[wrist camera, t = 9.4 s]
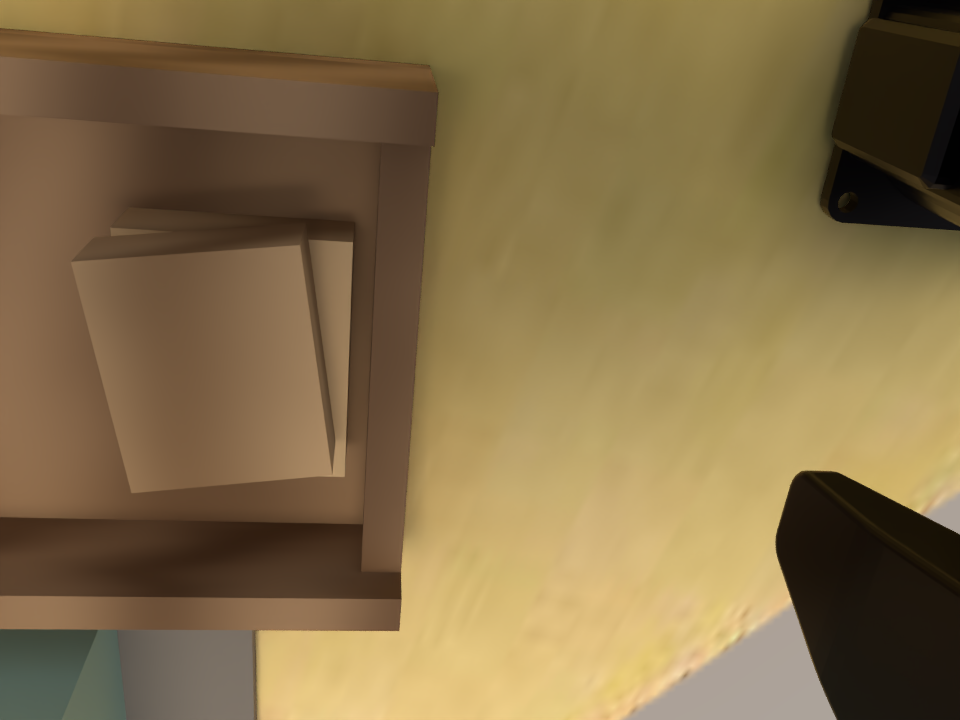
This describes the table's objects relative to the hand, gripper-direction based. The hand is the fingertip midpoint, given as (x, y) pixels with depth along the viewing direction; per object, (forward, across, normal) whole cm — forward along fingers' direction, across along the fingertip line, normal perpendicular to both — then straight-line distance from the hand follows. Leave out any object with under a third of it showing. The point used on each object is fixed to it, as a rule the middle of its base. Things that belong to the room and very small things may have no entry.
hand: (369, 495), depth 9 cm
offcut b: (+11, +3, +4) cm, 12 cm away
